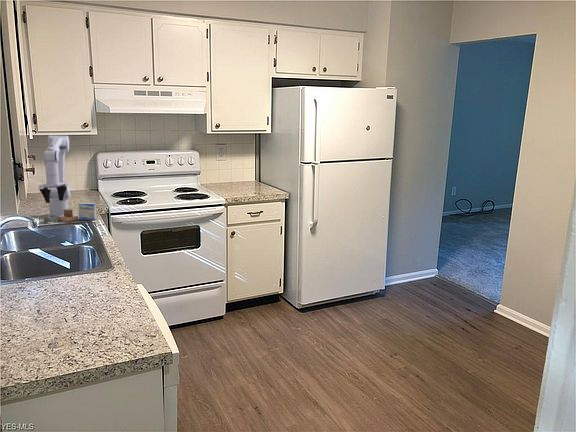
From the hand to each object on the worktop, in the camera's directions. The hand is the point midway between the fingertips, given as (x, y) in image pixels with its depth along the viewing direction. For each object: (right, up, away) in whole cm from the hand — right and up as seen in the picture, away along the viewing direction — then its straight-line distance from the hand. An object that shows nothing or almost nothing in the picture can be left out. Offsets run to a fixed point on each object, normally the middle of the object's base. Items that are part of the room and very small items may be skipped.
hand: (54, 201), depth 231 cm
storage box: (-2, -10, +1) cm, 11 cm away
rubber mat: (+5, -10, +6) cm, 12 cm away
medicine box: (+13, -9, +8) cm, 18 cm away
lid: (+5, -9, +6) cm, 12 cm away
